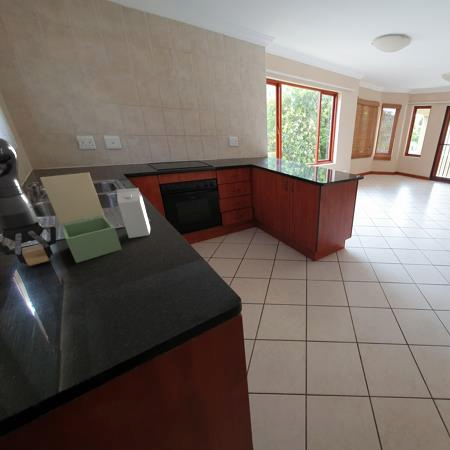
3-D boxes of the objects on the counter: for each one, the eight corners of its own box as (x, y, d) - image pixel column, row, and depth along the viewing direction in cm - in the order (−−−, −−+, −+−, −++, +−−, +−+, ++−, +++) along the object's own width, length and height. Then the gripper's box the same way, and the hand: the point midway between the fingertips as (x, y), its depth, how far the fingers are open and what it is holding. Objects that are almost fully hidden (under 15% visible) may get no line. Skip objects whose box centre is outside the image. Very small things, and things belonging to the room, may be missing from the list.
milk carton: (131, 232, 99) (117, 187, 92) (150, 228, 102) (139, 186, 95) (128, 238, 94) (114, 192, 86) (149, 235, 97) (137, 190, 89)
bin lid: (89, 172, 86) (87, 171, 89) (39, 177, 77) (39, 176, 81) (104, 215, 92) (101, 213, 95) (60, 224, 83) (59, 221, 86)
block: (28, 260, 76) (21, 248, 74) (48, 255, 79) (42, 243, 77) (28, 266, 73) (21, 253, 71) (49, 260, 76) (43, 248, 74)
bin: (121, 249, 86) (114, 227, 82) (76, 263, 77) (65, 239, 74) (111, 236, 96) (104, 216, 92) (69, 247, 87) (60, 225, 84)
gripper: (47, 202, 76) (66, 248, 83) (-24, 212, 67) (4, 264, 73) (49, 207, 72) (69, 256, 78) (-28, 219, 62) (3, 274, 69)
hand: (38, 259), depth 76 cm, fingers closed on block, 4 cm apart
